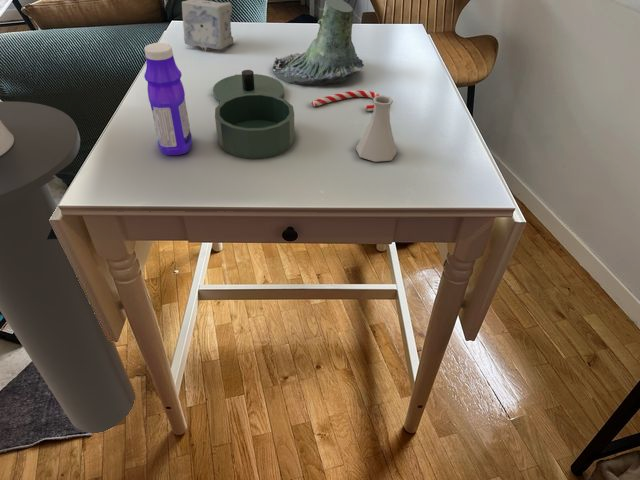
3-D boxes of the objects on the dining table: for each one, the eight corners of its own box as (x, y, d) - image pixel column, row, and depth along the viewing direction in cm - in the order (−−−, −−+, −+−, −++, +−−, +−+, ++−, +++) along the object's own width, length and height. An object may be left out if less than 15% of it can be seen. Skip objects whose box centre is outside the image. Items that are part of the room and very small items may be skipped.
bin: (217, 160, 82) (213, 131, 79) (219, 121, 92) (216, 94, 89) (296, 157, 84) (297, 129, 80) (290, 119, 94) (290, 92, 90)
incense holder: (235, 42, 122) (232, -2, 115) (221, 54, 116) (217, 8, 109) (199, 37, 124) (194, -7, 117) (184, 48, 118) (177, 3, 111)
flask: (354, 160, 84) (359, 107, 77) (357, 139, 89) (362, 87, 82) (396, 165, 83) (405, 111, 77) (396, 143, 89) (405, 91, 82)
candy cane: (308, 93, 99) (377, 87, 103) (308, 99, 100) (376, 93, 103) (317, 111, 94) (390, 104, 97) (317, 117, 95) (389, 110, 98)
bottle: (160, 137, 87) (140, 38, 76) (193, 135, 88) (177, 37, 76) (158, 159, 82) (135, 57, 70) (192, 157, 83) (176, 55, 71)
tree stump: (289, 51, 120) (308, -26, 108) (362, 83, 119) (390, 10, 107) (258, 76, 106) (276, -8, 94) (341, 113, 105) (370, 32, 93)
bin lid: (212, 111, 95) (209, 88, 92) (214, 79, 106) (212, 58, 103) (286, 109, 97) (286, 87, 94) (281, 78, 107) (281, 57, 104)
